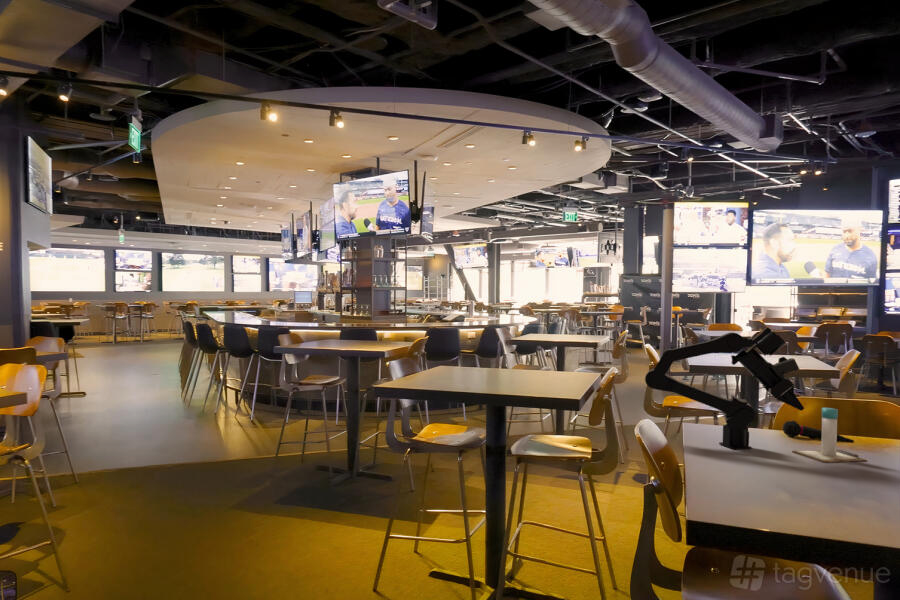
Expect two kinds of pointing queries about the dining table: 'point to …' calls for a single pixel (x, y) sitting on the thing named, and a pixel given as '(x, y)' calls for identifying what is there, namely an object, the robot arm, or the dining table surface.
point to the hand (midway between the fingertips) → (799, 407)
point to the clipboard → (840, 456)
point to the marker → (829, 431)
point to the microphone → (806, 431)
